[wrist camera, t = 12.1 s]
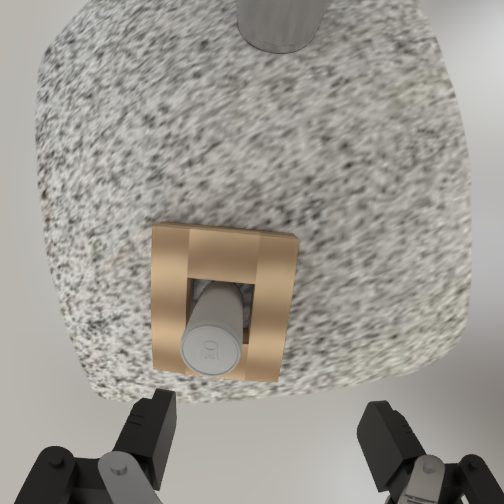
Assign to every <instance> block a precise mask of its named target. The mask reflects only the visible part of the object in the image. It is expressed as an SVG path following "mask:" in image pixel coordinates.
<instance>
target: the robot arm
mask: <svg viewBox="0 0 504 504" xmlns="http://www.w3.org/2000/svg"><path fill="white" fill-rule="evenodd" d="M330 1H331V0H237V19H238V28H239V31H240V33H241V35H242V36H243V37H244V39H245V40H246V41H247V42H249V43H250V44H251V45H253V46H255V47H256V48H258V49H261V50H264V51H268V52H273V53H289V52H294V51H297V50H300V49H302V48H304V47H305V46H307V45H308V44H309V43H310V42H311V40H312V39H313V38H314V35H315V33H316V31H317V29H318V27H319V24H320V22H321V20H322V18H323V16H324V14H325V12H326V10H327V7H328V5H329V3H330ZM176 419H177V416H176V393H175V391H170V390H164V389H159V388H157V389H156V390H155V393H154V395H153V397H152V399H147V398H142V399H140V400H139V401H138V402H137V403H135V404H134V406H133V408H132V410H131V412H130V415H129V416H128V418H127V421H126V423H125V425H124V427H123V429H122V431H121V433H120V436H119V438H118V440H117V442H116V444H115V447H114V449H113V450H112V451H111V452H108V453H106V454H104V455H103V456H102V457H101V458H97V459H87V458H76V457H74V456H73V454H72V453H71V452H70V451H69V450H67V449H65V448H63V447H60V446H50V447H47V448H45V449H44V450H42V452H41V453H40V454H39V456H38V458H37V460H36V462H35V463H34V465H33V467H32V469H31V471H30V473H29V475H28V477H27V478H26V481H25V482H24V484H23V486H22V488H21V490H20V492H19V494H18V496H17V498H16V501H15V503H14V504H163V503H162V502H161V501H160V499H159V498H158V496H157V494H156V493H155V491H154V490H157V491H159V490H160V486H161V482H162V478H163V474H164V470H165V467H166V463H167V459H168V455H169V451H170V448H171V444H172V440H173V436H174V433H175V428H176ZM357 438H358V441H359V443H360V446H361V448H362V451H363V453H364V456H365V458H366V461H367V463H368V466H369V468H370V471H371V474H372V476H373V479H374V481H375V484H376V487H377V489H378V492H383V491H388V490H389V492H390V495H389V496H388V497H387V499H386V501H385V504H463V502H462V500H461V497H462V496H463V495H464V494H465V496H466V498H467V500H468V502H469V504H504V493H503V491H502V489H501V488H500V486H499V484H498V483H497V481H496V479H495V478H494V476H493V474H492V473H491V471H490V470H489V468H488V466H487V465H486V464H485V462H484V460H483V459H482V458H481V457H479V456H477V455H474V454H469V455H466V456H464V457H463V458H462V459H461V461H460V462H459V463H450V464H444V463H443V462H442V460H441V459H440V458H438V457H436V456H434V455H427V454H426V452H425V451H424V449H423V447H422V446H421V444H420V442H419V441H418V439H417V437H416V436H415V434H414V433H413V431H412V429H411V427H410V426H409V424H408V422H407V421H406V419H405V417H404V416H402V415H401V414H400V413H399V412H398V411H396V410H393V409H392V408H391V406H390V404H389V403H388V402H387V401H385V400H384V401H372V402H369V403H368V405H367V407H366V409H365V411H364V414H363V416H362V418H361V420H360V423H359V425H358V428H357Z"/></svg>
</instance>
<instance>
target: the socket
mask: <svg viewBox="0 0 504 504" xmlns="http://www.w3.org/2000/svg"><path fill="white" fill-rule="evenodd" d="M299 242H300V239H299V238H297V237H296V236H295V235H294V234H289V233H279V232H270V231H260V230H250V229H239V228H229V227H218V226H207V225H196V224H184V223H172V222H162V223H159V224H156V225H153V228H152V252H151V329H152V352H153V369H157V370H163V371H169V372H175V373H182V374H189V375H197V376H202V375H200V374H198V373H195V372H194V371H192V370H191V369H190V368H189V367H188V366H187V365H186V364H185V363H184V361H183V359H182V357H181V352H180V347H181V346H180V344H181V337H182V335H183V333H184V330H185V328H186V326H187V324H188V321H189V319H190V317H191V315H192V301H193V279H194V278H197V279H207V280H216V281H226V282H237V283H247V284H253V290H252V300H251V309H250V318H249V327H248V328H243V340H242V353H241V357H240V359H239V362H238V364H237V365H236V367H235V368H234V369H233V370H232V371H231V372H229V373H227V374H225V375H223V376H218V377H214V378H224V379H234V380H247V381H262V382H278V378H279V373H280V367H281V362H282V356H283V350H284V344H285V338H286V332H287V326H288V319H289V313H290V306H291V300H292V293H293V286H294V279H295V272H296V265H297V257H298V250H299ZM205 377H207V376H205Z"/></svg>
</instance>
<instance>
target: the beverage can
mask: <svg viewBox="0 0 504 504" xmlns="http://www.w3.org/2000/svg"><path fill="white" fill-rule="evenodd" d="M242 340H243V297H242V294H241V292H240V290H239V289H238V287H237V286H236V285H235V284H234V283H231V282H226V281H213V282H211V283H210V284H208V285H207V286H206V287H205V288H204V290H203V292H202V293H201V296H200V298H199V300H198V302H197V304H196V306H195V308H194V310H193V312H192V315H191V317H190V319H189V321H188V324H187V326H186V328H185V330H184V333H183V335H182V337H181V344H180V346H181V347H180V352H181V357H182V359H183V361H184V363H185V364H186V365H187V366H188V367H189V368H190V369H191V370H192V371H194V372H195V373H198V374H200V375H202V376H207V377H218V376H223V375H225V374H227V373H229V372H231V371H232V370H233V369H234V368H235V367H236V365H237V364H238V362H239V359H240V357H241V353H242Z"/></svg>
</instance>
